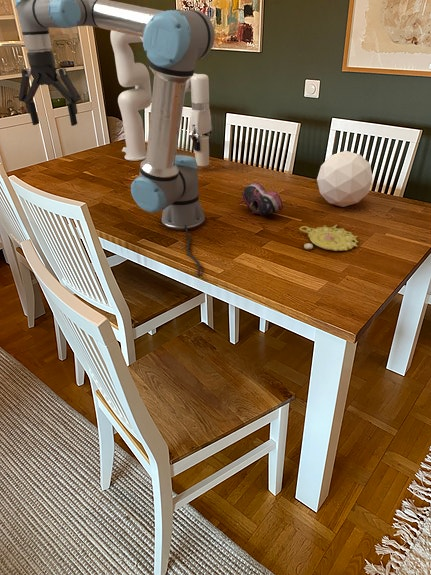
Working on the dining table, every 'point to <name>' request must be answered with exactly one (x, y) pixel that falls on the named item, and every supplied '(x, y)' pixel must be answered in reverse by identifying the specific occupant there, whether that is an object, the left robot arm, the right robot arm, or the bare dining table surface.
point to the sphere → (344, 178)
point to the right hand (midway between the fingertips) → (55, 124)
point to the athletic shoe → (261, 200)
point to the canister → (203, 151)
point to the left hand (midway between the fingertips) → (201, 148)
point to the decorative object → (330, 238)
